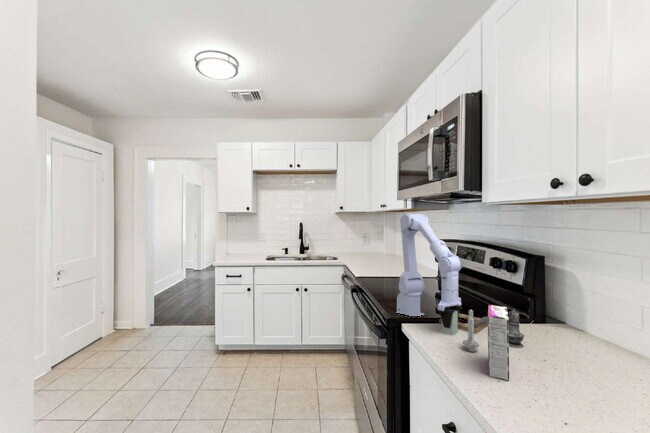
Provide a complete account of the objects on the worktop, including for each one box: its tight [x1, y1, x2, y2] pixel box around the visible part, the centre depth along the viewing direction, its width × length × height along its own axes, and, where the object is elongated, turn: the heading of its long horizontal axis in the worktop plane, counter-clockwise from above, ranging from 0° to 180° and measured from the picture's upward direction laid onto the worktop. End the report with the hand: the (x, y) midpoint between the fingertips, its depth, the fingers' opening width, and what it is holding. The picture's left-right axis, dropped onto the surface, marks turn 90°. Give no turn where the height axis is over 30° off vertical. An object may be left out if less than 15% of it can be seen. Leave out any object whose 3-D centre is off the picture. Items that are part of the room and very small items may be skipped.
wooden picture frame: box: [438, 312, 488, 335], centre depth 117 cm, size 14×14×2 cm
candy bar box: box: [487, 304, 510, 381], centre depth 82 cm, size 11×5×16 cm, turn 151°
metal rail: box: [474, 316, 488, 329], centre depth 113 cm, size 1×12×2 cm, turn 132°
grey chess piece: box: [508, 308, 525, 349], centre depth 99 cm, size 6×6×12 cm
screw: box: [461, 309, 480, 353], centre depth 94 cm, size 13×5×5 cm
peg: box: [441, 309, 459, 337], centre depth 109 cm, size 4×4×8 cm
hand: (449, 326), depth 109 cm, fingers closed on peg, 4 cm apart
